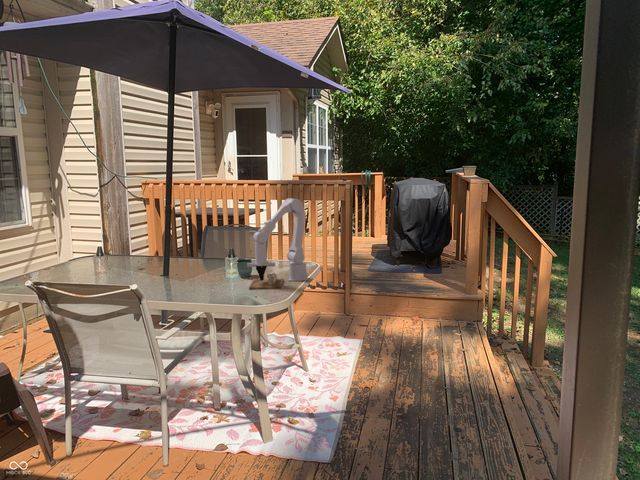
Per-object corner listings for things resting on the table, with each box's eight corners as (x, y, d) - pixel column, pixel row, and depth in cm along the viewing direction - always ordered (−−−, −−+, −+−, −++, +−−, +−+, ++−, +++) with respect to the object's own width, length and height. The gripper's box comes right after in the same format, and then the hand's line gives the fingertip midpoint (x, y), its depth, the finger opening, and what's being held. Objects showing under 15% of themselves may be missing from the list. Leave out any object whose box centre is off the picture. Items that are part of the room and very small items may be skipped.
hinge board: (283, 280, 269) (282, 269, 268) (280, 288, 251) (280, 276, 250) (253, 281, 269) (253, 270, 268) (249, 289, 251) (248, 277, 250)
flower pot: (237, 278, 278) (236, 262, 277) (236, 275, 286) (236, 259, 285) (253, 277, 280) (252, 261, 278) (252, 274, 288) (251, 258, 287)
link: (270, 278, 268) (270, 272, 267) (277, 278, 268) (277, 271, 267) (267, 284, 256) (266, 277, 256) (275, 284, 256) (274, 276, 255)
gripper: (245, 256, 255) (247, 282, 257) (274, 255, 255) (275, 281, 257) (247, 254, 262) (248, 279, 264) (275, 253, 262) (276, 278, 264)
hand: (261, 280), depth 261 cm, fingers closed
